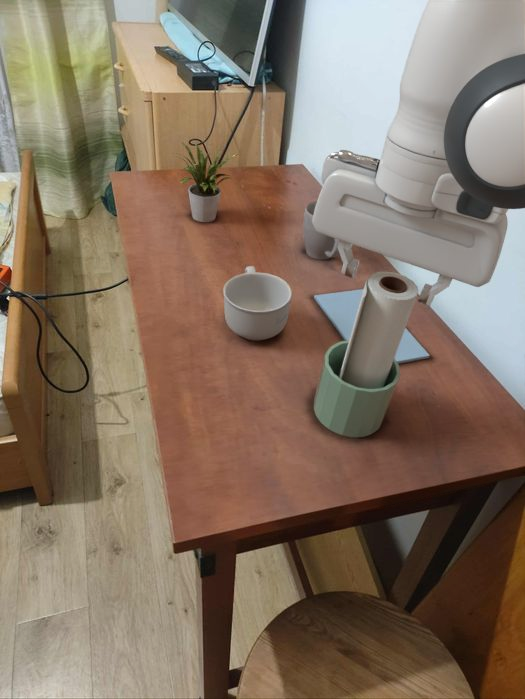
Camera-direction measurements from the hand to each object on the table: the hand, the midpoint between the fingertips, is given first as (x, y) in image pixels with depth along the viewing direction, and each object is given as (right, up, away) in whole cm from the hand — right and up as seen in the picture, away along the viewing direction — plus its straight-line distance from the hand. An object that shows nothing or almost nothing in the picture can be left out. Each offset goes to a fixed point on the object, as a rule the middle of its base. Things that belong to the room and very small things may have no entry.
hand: (385, 287), depth 60 cm
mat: (+4, -3, +30) cm, 30 cm away
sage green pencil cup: (-2, -16, +14) cm, 21 cm away
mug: (-2, +12, +46) cm, 48 cm away
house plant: (-29, +23, +55) cm, 66 cm away
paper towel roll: (-2, -16, +14) cm, 21 cm away
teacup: (-16, -3, +27) cm, 32 cm away
